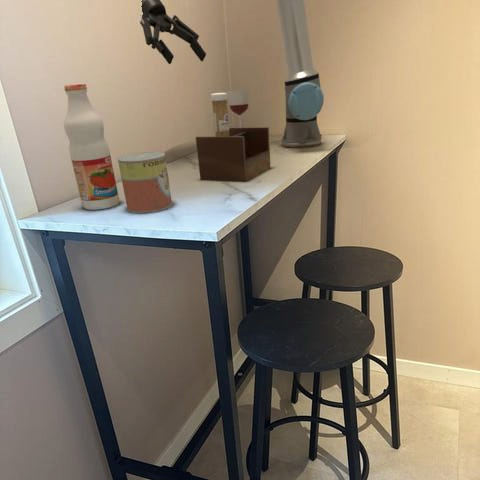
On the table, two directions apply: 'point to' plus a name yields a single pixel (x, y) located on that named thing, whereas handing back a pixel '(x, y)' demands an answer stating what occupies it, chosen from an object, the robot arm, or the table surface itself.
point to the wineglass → (238, 101)
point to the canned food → (145, 182)
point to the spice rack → (234, 154)
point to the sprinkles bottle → (220, 114)
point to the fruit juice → (89, 151)
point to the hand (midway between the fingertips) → (188, 59)
